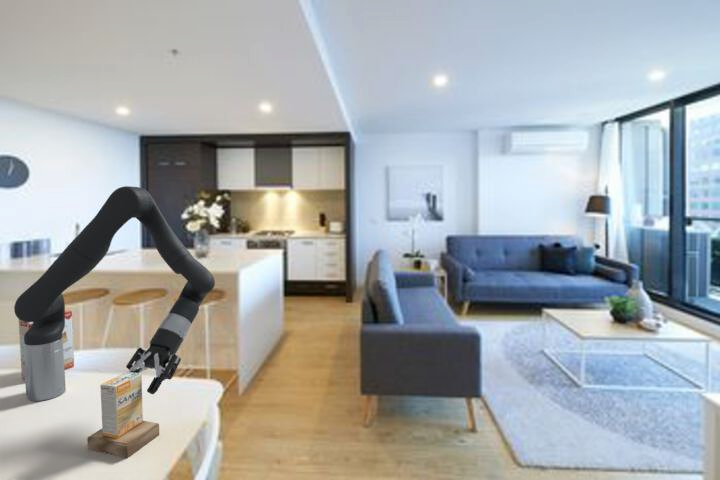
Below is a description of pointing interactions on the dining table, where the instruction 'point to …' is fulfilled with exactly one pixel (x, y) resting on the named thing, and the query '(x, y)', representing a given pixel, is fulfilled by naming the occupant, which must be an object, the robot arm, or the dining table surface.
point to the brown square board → (124, 440)
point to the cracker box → (66, 336)
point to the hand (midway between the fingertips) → (137, 390)
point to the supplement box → (121, 404)
